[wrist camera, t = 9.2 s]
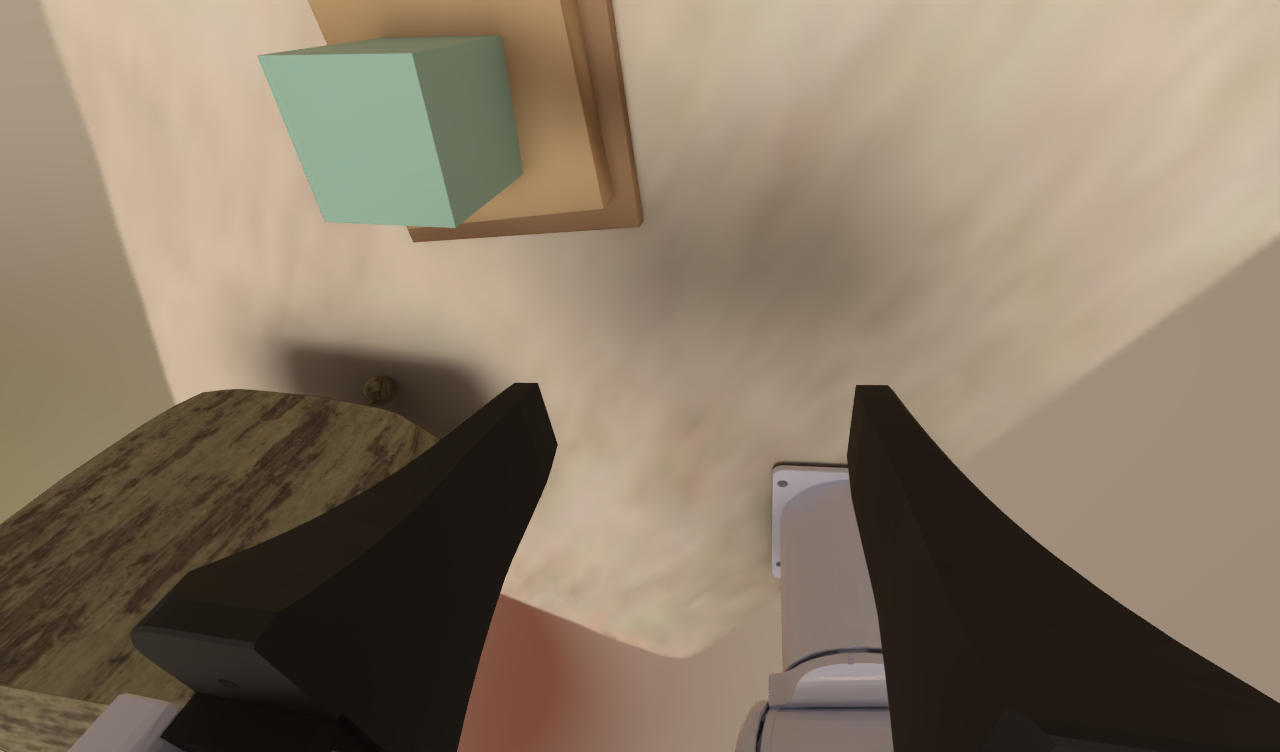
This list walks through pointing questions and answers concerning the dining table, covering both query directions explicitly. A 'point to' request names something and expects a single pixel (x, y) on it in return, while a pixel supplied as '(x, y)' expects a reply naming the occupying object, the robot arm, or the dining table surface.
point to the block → (400, 126)
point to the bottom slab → (616, 139)
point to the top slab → (511, 89)
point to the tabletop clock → (166, 538)
